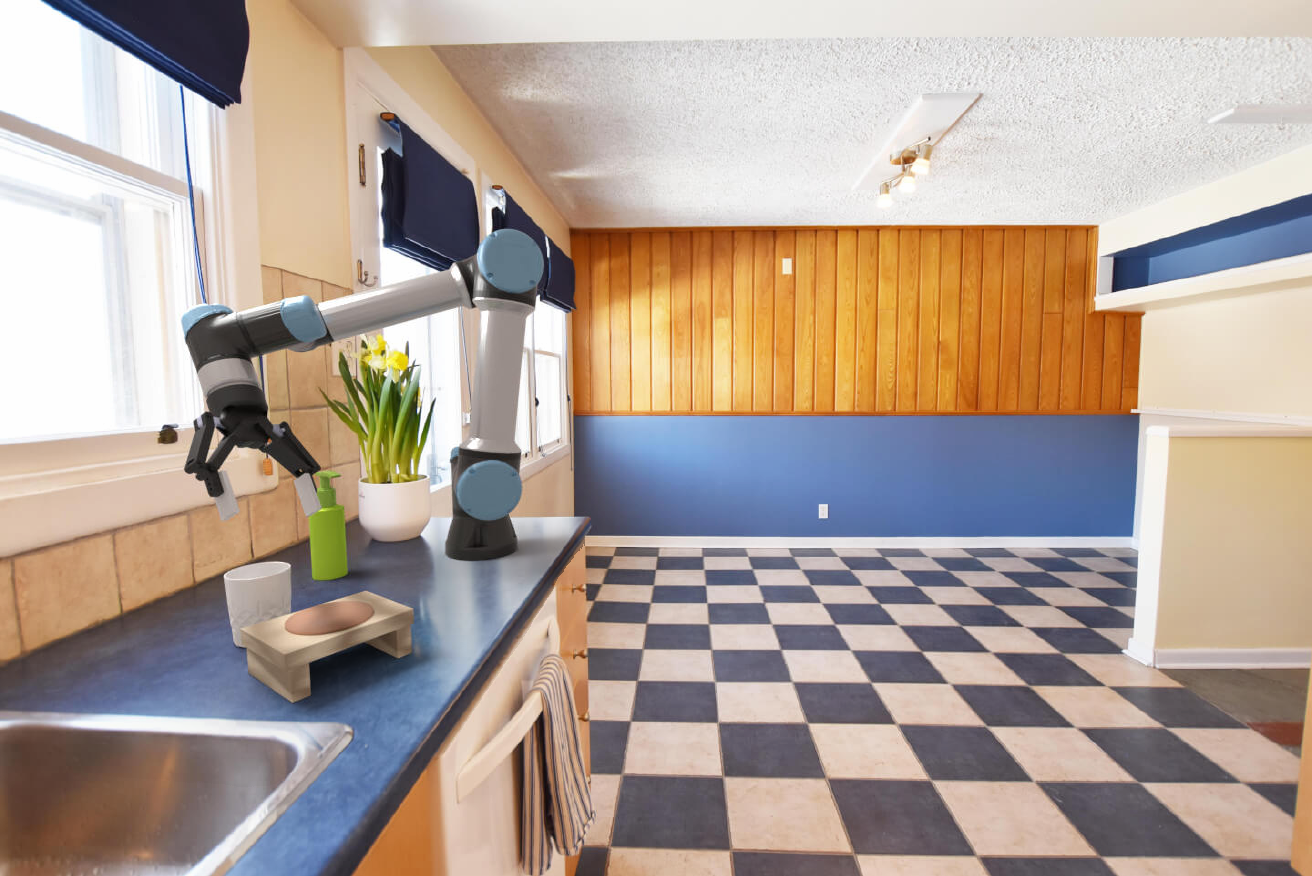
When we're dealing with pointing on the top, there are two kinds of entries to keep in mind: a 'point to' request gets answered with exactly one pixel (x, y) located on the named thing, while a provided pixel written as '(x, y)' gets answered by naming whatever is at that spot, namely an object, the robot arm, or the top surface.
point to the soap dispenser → (328, 533)
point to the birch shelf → (323, 638)
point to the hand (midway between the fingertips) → (275, 514)
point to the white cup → (257, 594)
